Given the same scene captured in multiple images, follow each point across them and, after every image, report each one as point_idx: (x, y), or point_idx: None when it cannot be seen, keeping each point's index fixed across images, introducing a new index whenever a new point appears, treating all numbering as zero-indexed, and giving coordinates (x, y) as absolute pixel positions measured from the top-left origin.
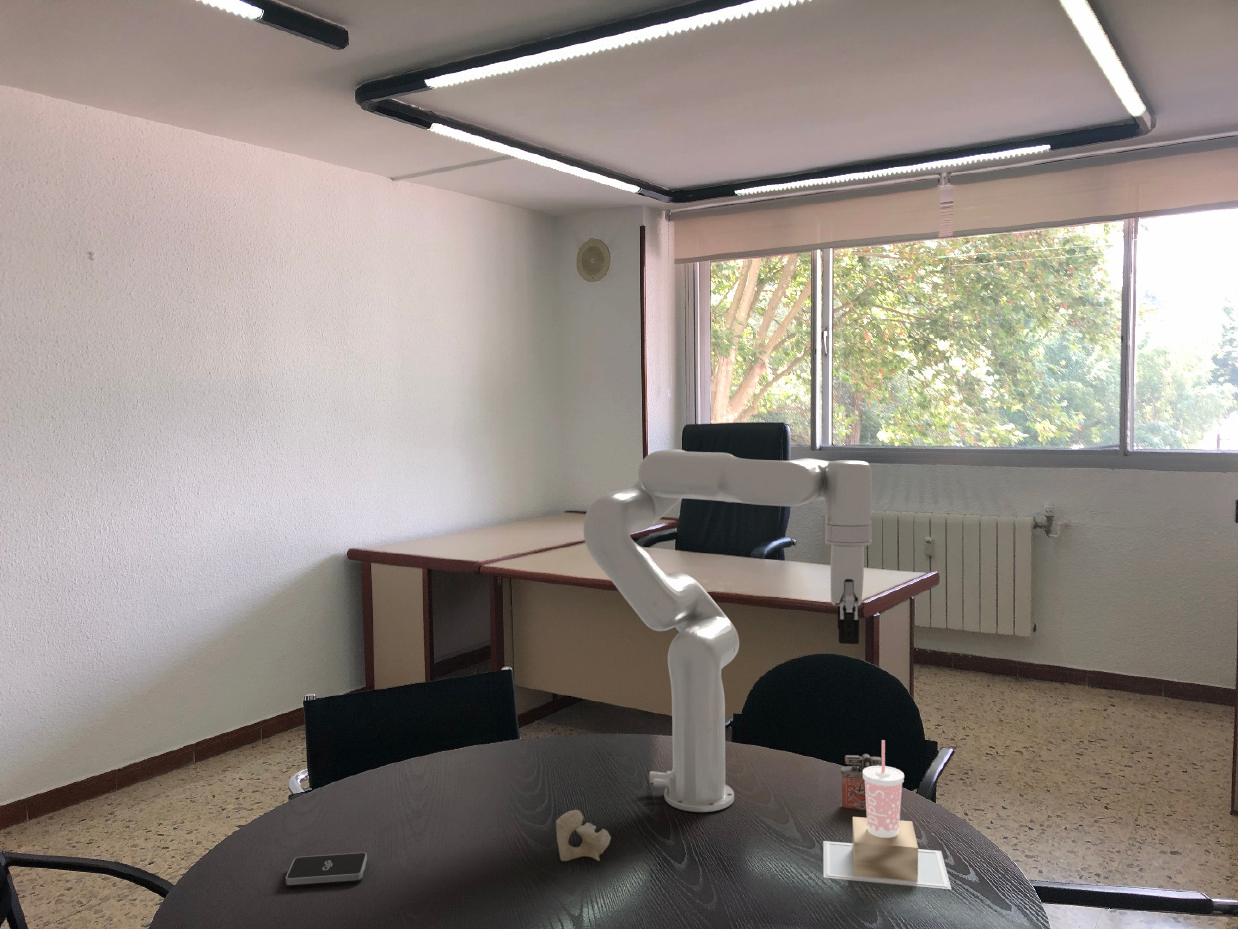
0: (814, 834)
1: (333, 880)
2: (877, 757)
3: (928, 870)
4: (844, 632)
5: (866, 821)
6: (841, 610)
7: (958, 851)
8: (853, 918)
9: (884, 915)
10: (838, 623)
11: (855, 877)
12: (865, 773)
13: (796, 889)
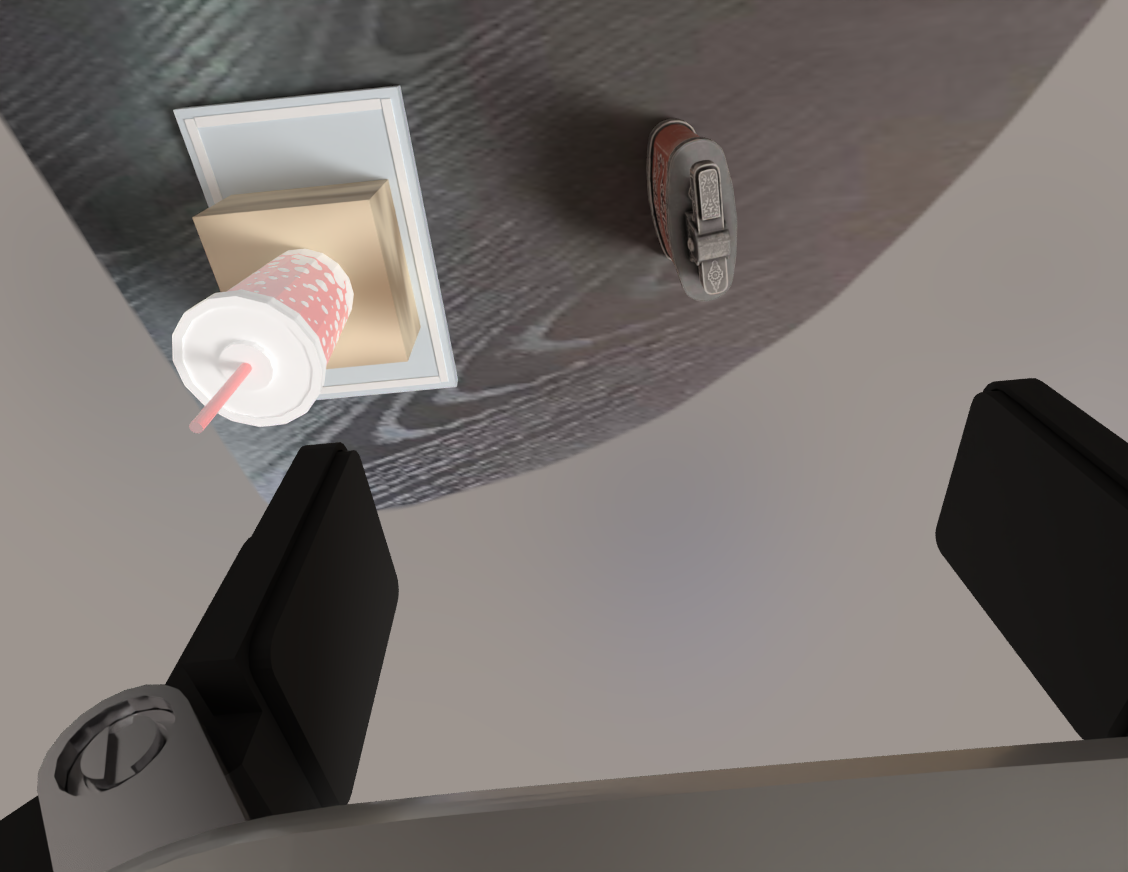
0: (477, 46)
1: None
2: (723, 282)
3: None
4: (224, 584)
5: (353, 243)
6: (57, 865)
7: (502, 412)
8: (61, 199)
9: (121, 268)
10: (1022, 421)
11: (217, 198)
12: (209, 308)
13: (108, 28)
